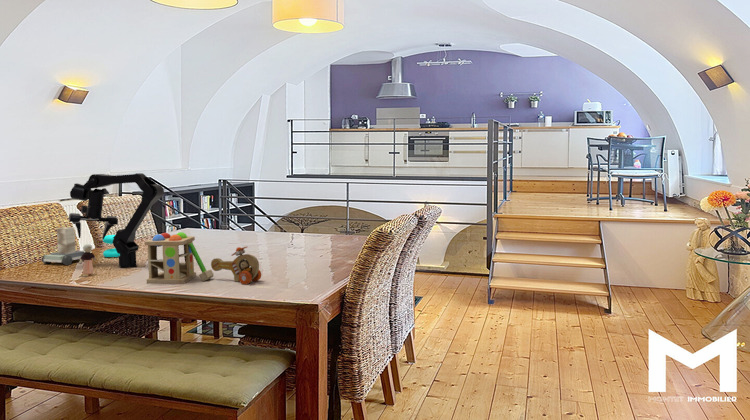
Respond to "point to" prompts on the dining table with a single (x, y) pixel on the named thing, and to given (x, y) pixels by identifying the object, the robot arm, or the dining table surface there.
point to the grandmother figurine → (87, 260)
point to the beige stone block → (66, 240)
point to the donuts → (110, 252)
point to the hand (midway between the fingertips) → (91, 238)
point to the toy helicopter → (240, 266)
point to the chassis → (62, 257)
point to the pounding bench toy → (174, 259)
